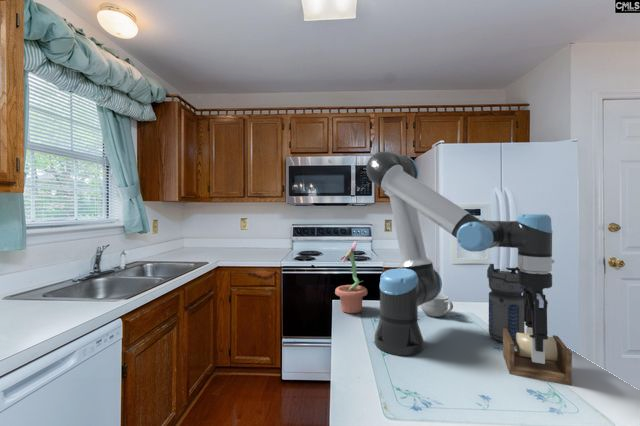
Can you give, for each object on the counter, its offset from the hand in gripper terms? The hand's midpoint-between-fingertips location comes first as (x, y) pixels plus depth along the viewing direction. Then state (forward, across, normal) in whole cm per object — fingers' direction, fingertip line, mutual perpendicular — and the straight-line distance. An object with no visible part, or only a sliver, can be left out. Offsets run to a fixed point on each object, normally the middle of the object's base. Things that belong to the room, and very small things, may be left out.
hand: (534, 356), depth 80 cm
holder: (+3, 0, 0) cm, 3 cm away
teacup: (+3, +33, +26) cm, 42 cm away
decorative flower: (+3, +25, +60) cm, 65 cm away
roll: (-3, 0, 0) cm, 3 cm away
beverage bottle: (+4, +19, +3) cm, 20 cm away
